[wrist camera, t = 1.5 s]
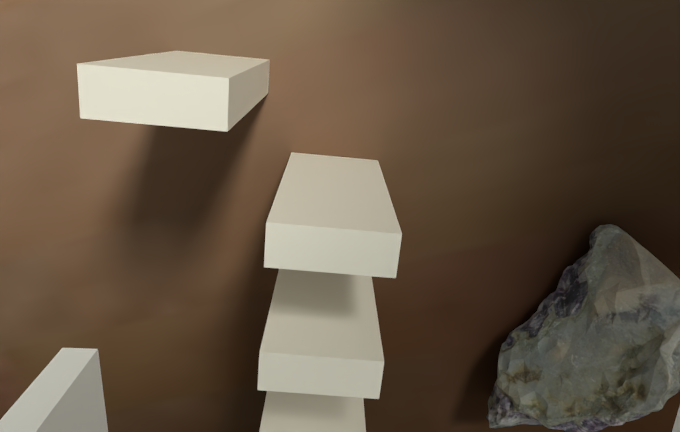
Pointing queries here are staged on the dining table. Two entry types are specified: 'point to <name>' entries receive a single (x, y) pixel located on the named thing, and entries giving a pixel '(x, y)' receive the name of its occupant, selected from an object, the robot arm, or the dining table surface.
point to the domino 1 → (173, 89)
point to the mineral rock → (594, 343)
